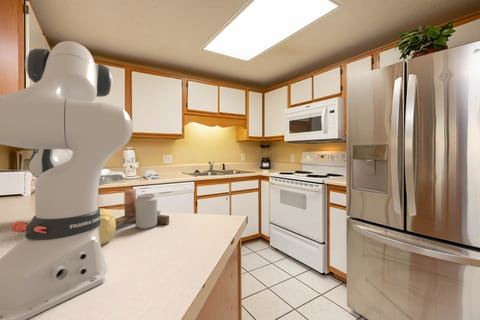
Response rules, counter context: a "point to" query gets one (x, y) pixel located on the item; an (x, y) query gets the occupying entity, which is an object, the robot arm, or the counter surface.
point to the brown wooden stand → (134, 210)
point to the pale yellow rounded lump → (106, 226)
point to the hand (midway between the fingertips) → (115, 178)
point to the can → (146, 211)
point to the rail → (129, 223)
